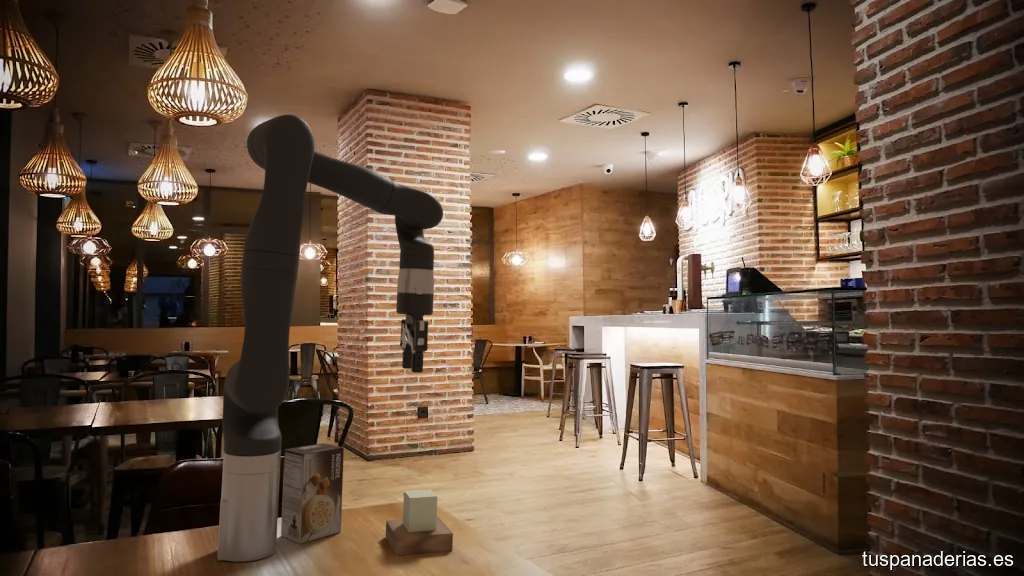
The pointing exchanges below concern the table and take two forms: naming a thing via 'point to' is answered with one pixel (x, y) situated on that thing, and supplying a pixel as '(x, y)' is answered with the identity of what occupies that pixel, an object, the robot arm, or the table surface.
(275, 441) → the robot arm
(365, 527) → the table surface
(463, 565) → the table surface
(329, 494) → the coffee box
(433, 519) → the sage block
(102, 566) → the table surface
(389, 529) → the walnut plinth
